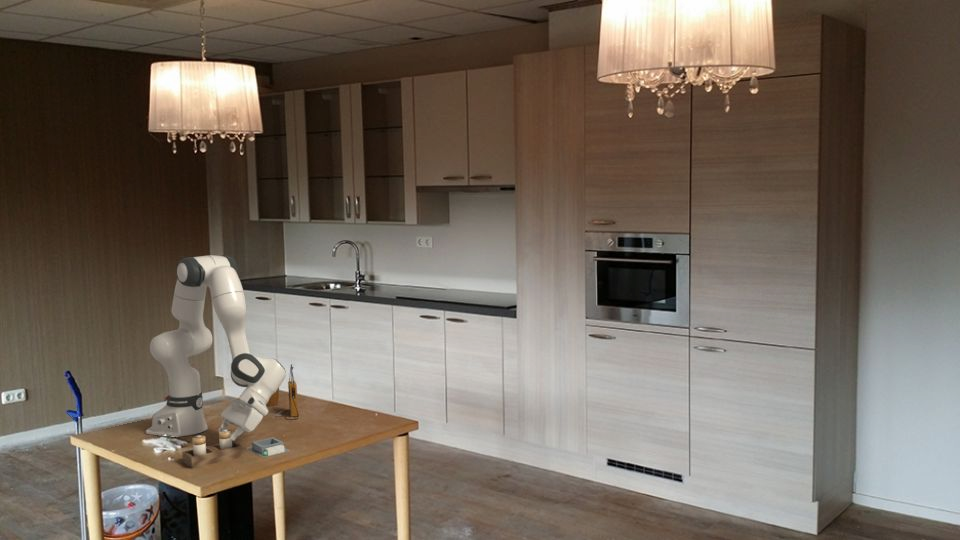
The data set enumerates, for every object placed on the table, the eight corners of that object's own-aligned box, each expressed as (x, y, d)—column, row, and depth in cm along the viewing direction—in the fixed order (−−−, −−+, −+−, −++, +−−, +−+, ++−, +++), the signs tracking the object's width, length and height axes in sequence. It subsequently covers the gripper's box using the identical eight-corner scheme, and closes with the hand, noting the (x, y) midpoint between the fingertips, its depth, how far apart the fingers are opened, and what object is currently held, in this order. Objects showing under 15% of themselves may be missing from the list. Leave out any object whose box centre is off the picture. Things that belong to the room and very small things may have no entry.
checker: (263, 460, 282) (262, 450, 282) (245, 450, 293) (245, 440, 293) (290, 453, 288) (290, 443, 288) (272, 444, 299) (272, 434, 299)
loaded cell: (191, 463, 277) (189, 437, 276) (198, 459, 281) (197, 433, 280) (202, 464, 276) (200, 438, 275) (209, 460, 280) (207, 434, 279)
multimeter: (270, 412, 341) (267, 364, 339) (295, 410, 344) (293, 361, 342) (273, 422, 327) (270, 371, 325) (299, 419, 330) (296, 369, 328)
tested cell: (217, 457, 283) (216, 431, 282) (224, 453, 287) (223, 428, 286) (228, 458, 282) (226, 432, 281) (235, 454, 286) (233, 428, 285)
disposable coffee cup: (286, 403, 354) (285, 375, 353) (267, 408, 347) (265, 380, 346) (273, 400, 361) (271, 372, 359) (254, 405, 354) (252, 376, 352)
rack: (192, 471, 273) (191, 458, 273) (183, 465, 280) (182, 451, 279) (244, 459, 284) (243, 446, 283) (233, 453, 290) (233, 440, 290)
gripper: (232, 391, 295) (207, 424, 290) (257, 402, 279) (230, 437, 274) (245, 401, 299) (220, 434, 294) (270, 413, 283) (244, 447, 278)
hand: (225, 436), depth 284 cm, fingers open, 8 cm apart
